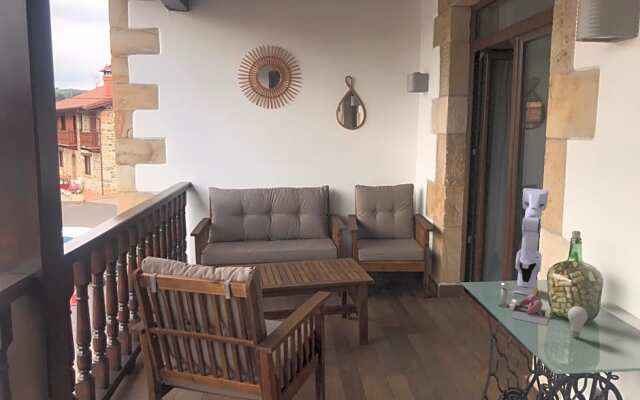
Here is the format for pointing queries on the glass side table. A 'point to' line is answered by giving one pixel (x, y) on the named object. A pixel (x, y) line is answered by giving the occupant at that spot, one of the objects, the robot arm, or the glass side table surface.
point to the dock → (504, 303)
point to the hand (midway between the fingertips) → (526, 281)
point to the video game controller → (531, 303)
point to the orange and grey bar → (518, 288)
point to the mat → (530, 317)
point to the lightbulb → (577, 319)
